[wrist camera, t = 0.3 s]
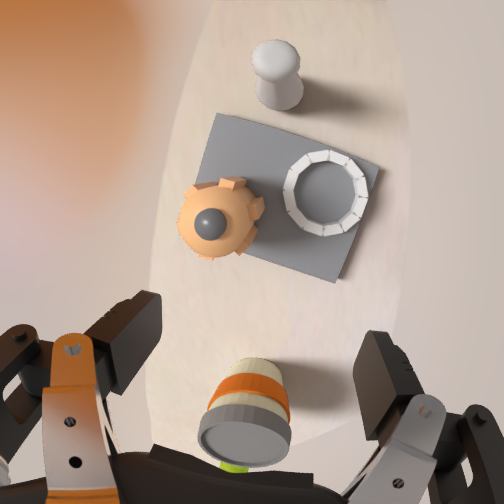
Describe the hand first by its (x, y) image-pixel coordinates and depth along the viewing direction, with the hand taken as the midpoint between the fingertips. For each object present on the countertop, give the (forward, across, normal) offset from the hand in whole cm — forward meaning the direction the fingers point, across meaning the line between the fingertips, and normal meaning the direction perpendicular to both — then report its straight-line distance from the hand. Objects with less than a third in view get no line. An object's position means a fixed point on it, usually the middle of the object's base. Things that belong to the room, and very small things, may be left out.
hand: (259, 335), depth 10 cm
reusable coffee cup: (+27, 0, +28) cm, 39 cm away
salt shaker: (+28, +2, -16) cm, 32 cm away
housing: (+27, +1, -2) cm, 27 cm away
